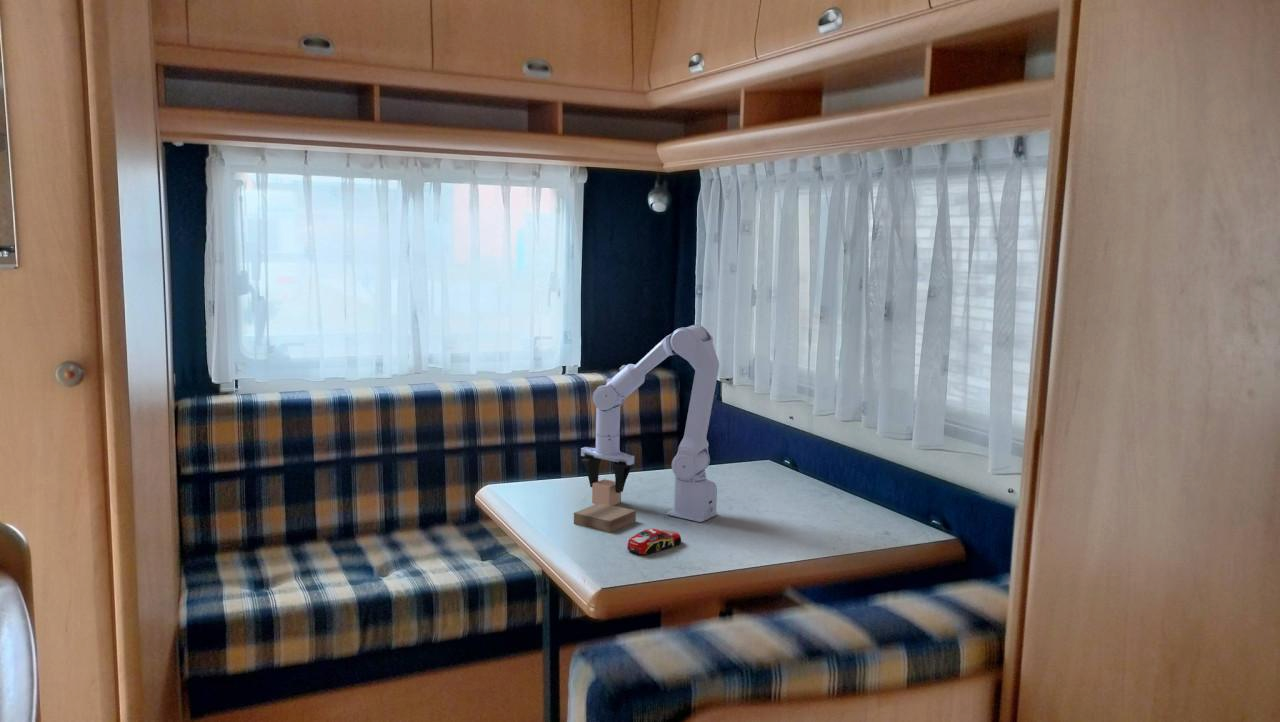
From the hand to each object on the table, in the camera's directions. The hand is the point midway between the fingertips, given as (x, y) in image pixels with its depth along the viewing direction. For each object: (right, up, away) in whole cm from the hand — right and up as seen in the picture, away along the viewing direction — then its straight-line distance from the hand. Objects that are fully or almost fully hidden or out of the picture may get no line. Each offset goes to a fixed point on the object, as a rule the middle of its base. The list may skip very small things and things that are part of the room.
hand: (606, 489), depth 224 cm
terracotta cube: (0, -3, 0) cm, 3 cm away
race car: (+11, -8, -31) cm, 34 cm away
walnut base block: (0, -6, -15) cm, 16 cm away
